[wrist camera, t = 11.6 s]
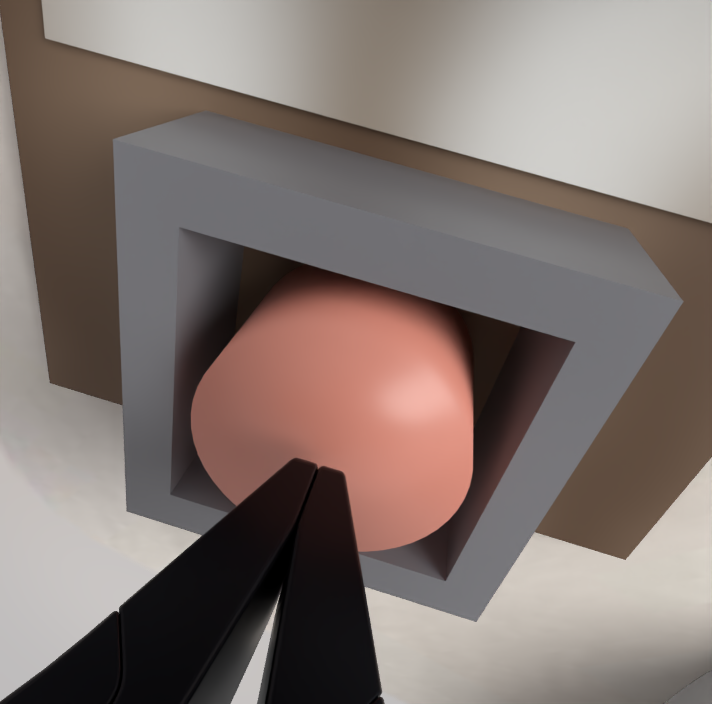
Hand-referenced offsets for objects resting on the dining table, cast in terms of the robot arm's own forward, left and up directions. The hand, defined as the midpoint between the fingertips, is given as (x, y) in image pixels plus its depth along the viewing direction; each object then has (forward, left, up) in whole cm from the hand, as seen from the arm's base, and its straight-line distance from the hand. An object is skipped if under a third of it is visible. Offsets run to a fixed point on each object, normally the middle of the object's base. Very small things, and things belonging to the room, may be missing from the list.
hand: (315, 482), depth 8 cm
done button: (0, 0, -4) cm, 4 cm away
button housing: (0, 0, -5) cm, 5 cm away
